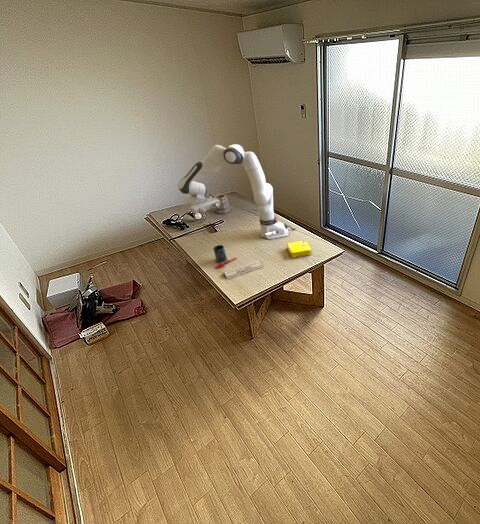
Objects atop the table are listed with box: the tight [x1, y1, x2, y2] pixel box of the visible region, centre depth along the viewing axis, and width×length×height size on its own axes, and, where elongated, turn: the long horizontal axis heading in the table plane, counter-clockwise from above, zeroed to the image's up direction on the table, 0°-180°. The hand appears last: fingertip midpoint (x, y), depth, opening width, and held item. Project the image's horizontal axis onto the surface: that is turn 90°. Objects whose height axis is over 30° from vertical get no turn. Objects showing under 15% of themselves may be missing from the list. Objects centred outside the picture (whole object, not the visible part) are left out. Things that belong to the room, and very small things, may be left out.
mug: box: [212, 244, 228, 264], centre depth 191 cm, size 10×7×10 cm
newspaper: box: [223, 260, 263, 280], centre depth 184 cm, size 24×7×2 cm, turn 124°
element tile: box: [286, 239, 312, 259], centre depth 203 cm, size 15×15×5 cm
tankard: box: [208, 192, 231, 214], centre depth 260 cm, size 20×13×15 cm, turn 58°
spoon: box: [215, 257, 237, 269], centre depth 191 cm, size 15×4×1 cm, turn 141°
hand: (211, 208), depth 193 cm, fingers open, 8 cm apart
